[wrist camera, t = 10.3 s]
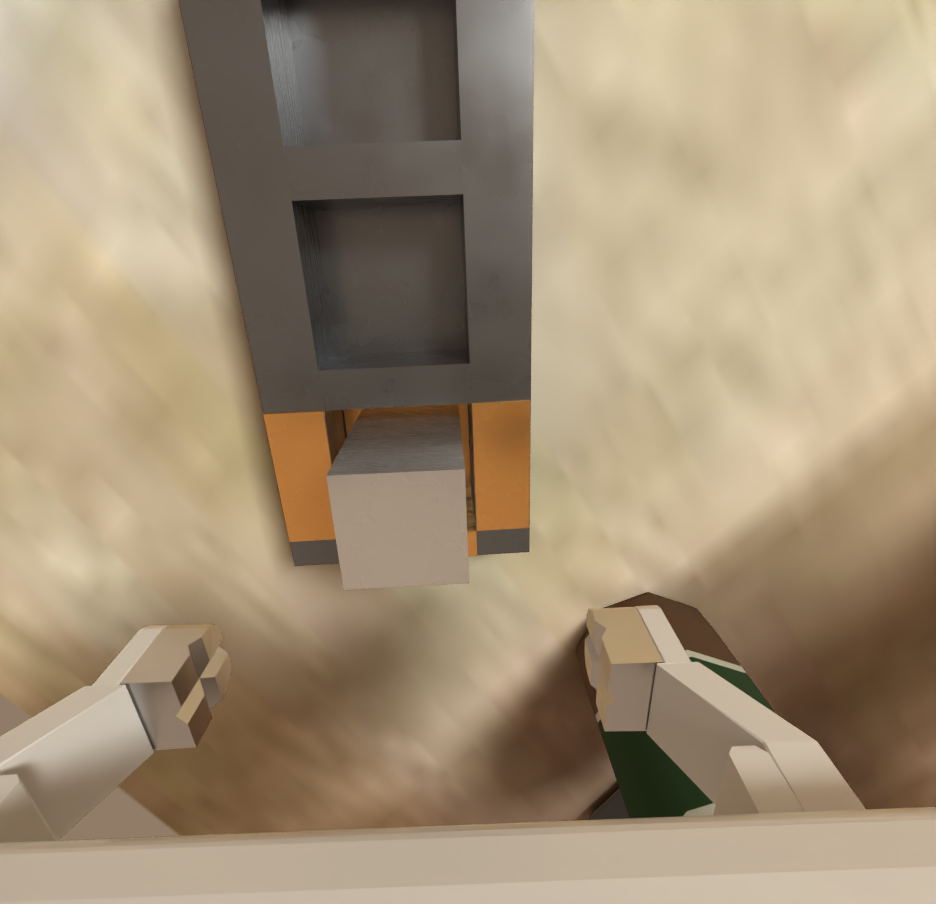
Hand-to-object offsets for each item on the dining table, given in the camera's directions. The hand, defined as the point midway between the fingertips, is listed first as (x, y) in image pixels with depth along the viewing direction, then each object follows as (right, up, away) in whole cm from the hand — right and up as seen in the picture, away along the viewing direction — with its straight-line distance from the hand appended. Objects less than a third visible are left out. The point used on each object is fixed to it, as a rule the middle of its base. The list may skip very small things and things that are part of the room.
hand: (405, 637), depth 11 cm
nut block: (-1, +4, +11) cm, 12 cm away
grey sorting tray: (-2, +11, +9) cm, 14 cm away
